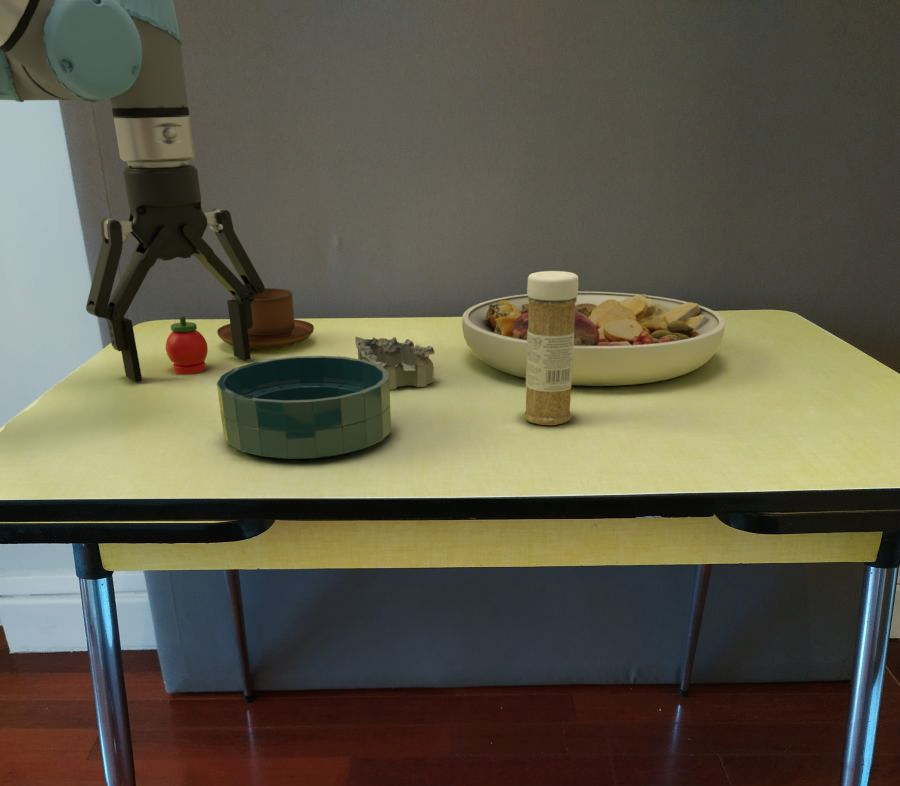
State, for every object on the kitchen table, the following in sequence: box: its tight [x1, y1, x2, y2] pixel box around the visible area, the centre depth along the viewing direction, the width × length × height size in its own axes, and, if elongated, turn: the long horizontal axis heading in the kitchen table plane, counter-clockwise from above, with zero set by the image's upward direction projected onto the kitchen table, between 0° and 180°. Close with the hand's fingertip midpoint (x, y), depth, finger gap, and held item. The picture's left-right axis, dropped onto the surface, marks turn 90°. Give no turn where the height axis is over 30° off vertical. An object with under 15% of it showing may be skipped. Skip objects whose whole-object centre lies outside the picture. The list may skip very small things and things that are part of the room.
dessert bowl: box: [216, 355, 392, 460], centre depth 83 cm, size 15×15×6 cm
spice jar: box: [523, 270, 579, 426], centre depth 85 cm, size 5×5×13 cm
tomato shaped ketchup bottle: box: [165, 315, 209, 375], centre depth 103 cm, size 5×5×6 cm
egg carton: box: [354, 336, 436, 391], centre depth 101 cm, size 11×8×4 cm
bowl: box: [461, 291, 726, 387], centre depth 106 cm, size 30×30×8 cm
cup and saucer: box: [216, 287, 315, 350], centre depth 114 cm, size 12×12×6 cm
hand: (190, 368), depth 105 cm, fingers open, 13 cm apart
